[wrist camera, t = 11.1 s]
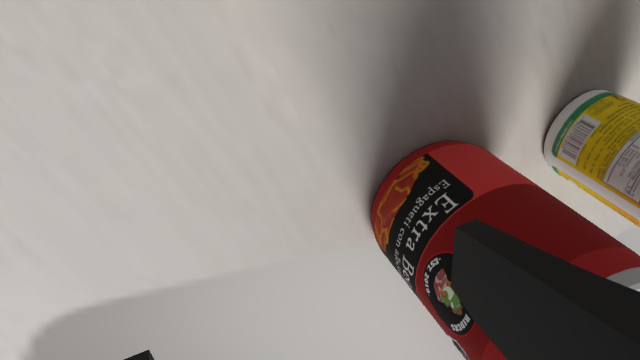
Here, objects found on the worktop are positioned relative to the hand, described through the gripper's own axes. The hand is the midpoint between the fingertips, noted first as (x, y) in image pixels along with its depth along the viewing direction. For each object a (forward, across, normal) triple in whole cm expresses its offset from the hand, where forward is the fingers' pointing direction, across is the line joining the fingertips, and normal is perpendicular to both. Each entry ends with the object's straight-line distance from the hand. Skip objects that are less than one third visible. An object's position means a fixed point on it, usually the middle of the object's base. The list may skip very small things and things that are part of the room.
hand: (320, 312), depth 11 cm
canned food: (+11, -10, +8) cm, 17 cm away
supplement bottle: (+11, -20, +7) cm, 24 cm away
